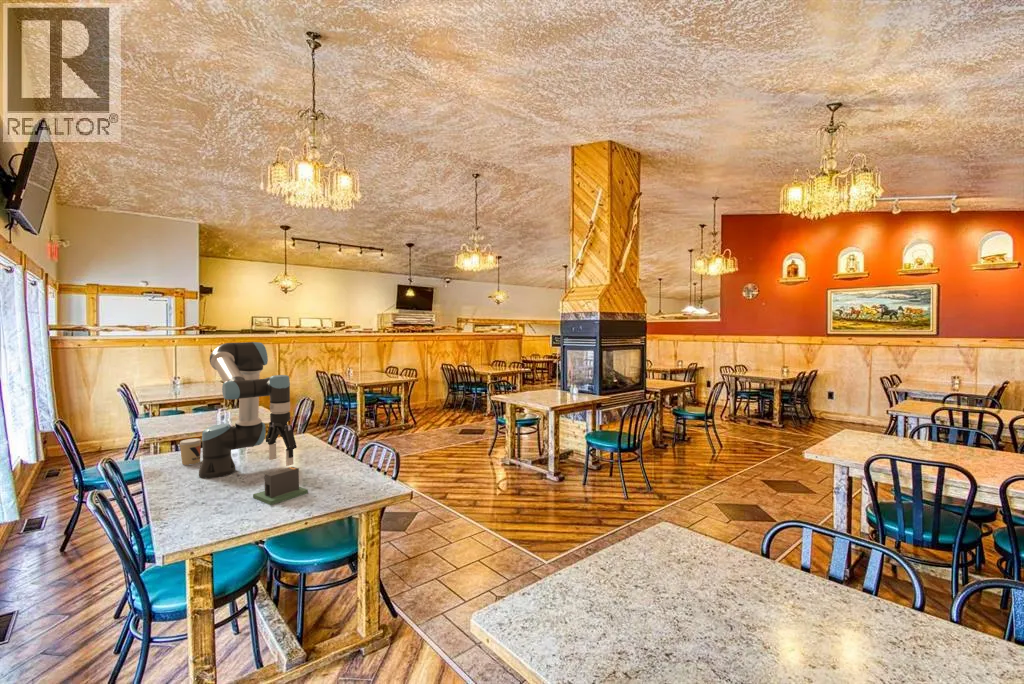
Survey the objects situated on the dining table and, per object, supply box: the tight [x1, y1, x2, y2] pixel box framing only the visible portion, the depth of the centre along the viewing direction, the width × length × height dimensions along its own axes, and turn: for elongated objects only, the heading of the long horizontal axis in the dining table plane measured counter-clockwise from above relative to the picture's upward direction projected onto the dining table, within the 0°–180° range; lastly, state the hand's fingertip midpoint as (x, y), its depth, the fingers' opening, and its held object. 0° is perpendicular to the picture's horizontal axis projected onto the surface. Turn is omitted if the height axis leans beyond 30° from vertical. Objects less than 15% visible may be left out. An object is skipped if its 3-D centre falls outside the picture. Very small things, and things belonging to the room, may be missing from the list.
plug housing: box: [263, 466, 300, 498], centre depth 192 cm, size 5×12×9 cm, turn 145°
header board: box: [252, 486, 309, 506], centre depth 193 cm, size 14×16×6 cm
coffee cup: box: [179, 438, 202, 466], centre depth 241 cm, size 9×9×12 cm
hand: (281, 462), depth 192 cm, fingers open, 13 cm apart
